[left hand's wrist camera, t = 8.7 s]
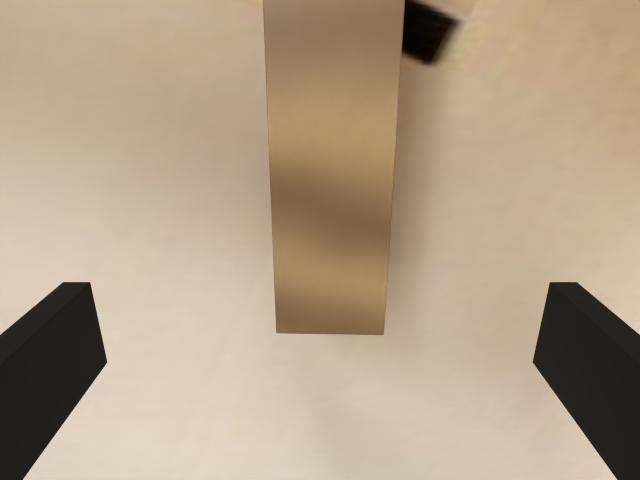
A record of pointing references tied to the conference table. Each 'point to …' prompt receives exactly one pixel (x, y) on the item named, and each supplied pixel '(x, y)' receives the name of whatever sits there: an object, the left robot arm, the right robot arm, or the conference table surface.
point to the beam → (332, 159)
